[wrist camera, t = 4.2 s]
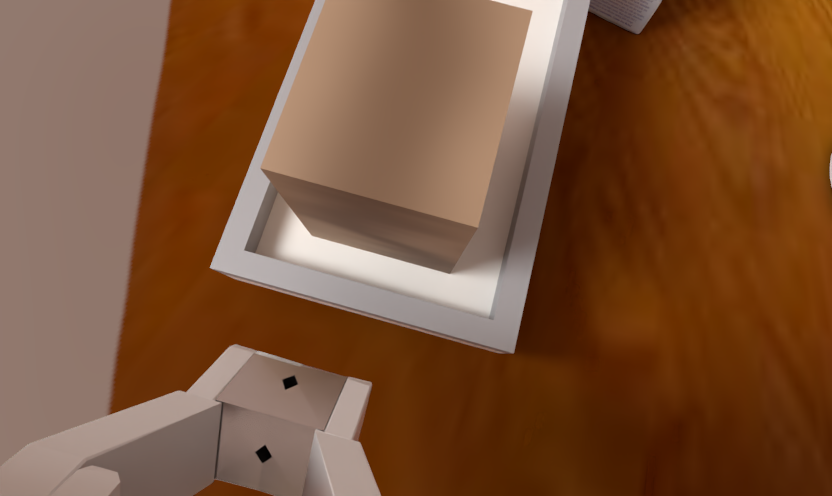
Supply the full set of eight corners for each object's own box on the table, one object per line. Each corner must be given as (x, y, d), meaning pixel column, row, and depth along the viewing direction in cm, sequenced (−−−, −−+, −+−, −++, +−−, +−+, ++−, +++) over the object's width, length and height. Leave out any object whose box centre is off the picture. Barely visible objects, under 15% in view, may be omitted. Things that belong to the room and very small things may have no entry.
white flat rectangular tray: (605, -125, 26) (629, -180, 23) (498, 353, 19) (513, 353, 17) (406, -174, 26) (407, -233, 23) (235, 279, 20) (209, 267, 17)
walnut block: (488, 127, 20) (532, 10, 13) (449, 273, 18) (478, 227, 12) (360, 93, 20) (340, -39, 13) (311, 235, 19) (260, 168, 12)
